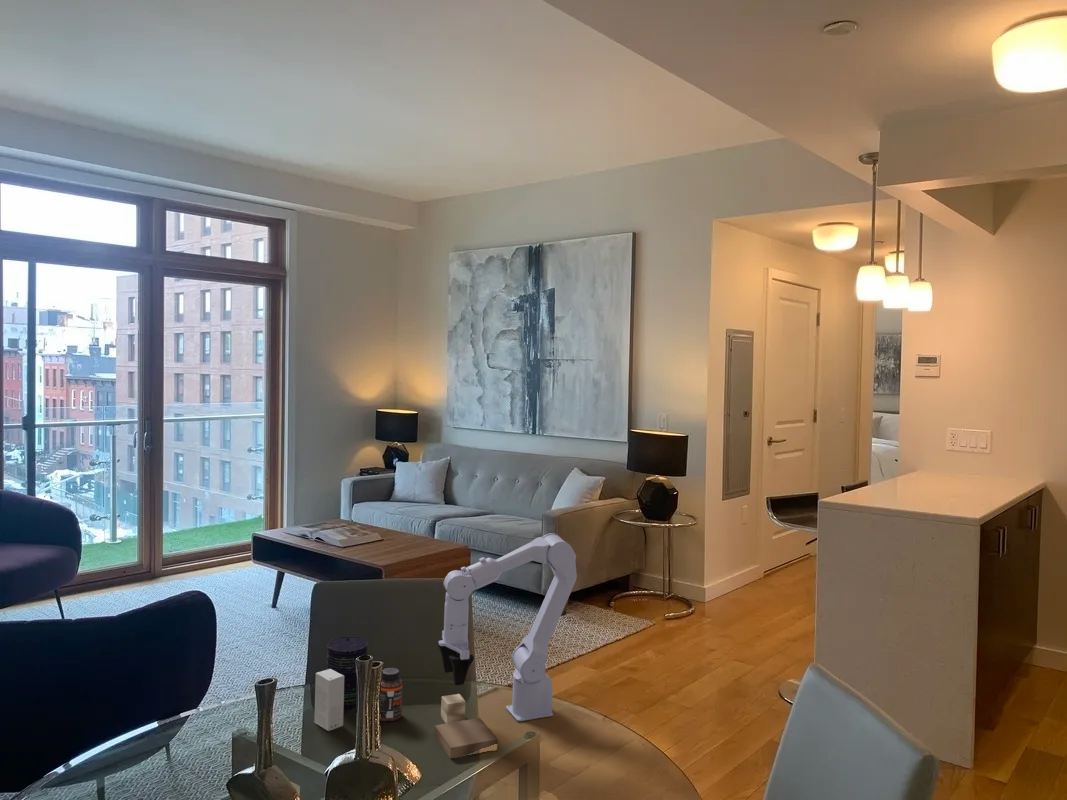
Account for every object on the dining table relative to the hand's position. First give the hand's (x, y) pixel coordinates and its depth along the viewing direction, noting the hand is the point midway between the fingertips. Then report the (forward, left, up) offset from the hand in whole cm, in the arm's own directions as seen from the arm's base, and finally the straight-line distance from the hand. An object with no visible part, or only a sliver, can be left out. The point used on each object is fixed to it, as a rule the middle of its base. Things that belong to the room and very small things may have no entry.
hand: (454, 678), depth 189 cm
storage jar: (+22, -17, -10) cm, 30 cm away
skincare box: (+28, -7, -10) cm, 31 cm away
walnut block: (+1, +12, -10) cm, 16 cm away
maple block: (0, 0, -10) cm, 10 cm away
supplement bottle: (+14, -6, -10) cm, 18 cm away
